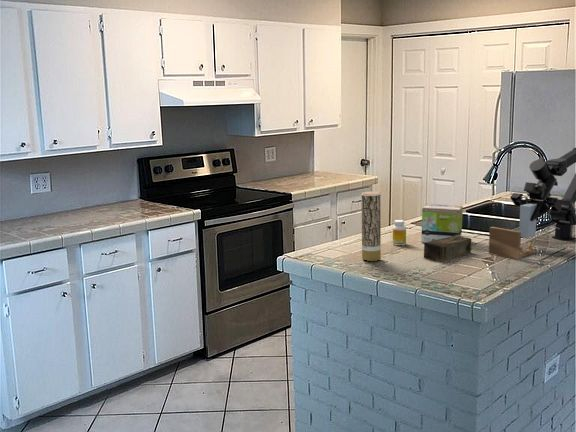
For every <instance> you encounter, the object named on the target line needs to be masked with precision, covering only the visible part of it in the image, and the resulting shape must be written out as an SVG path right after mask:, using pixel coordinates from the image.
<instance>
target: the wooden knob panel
mask: <svg viewBox="0 0 576 432" xmlns="http://www.w3.org/2000/svg"><path fill="white" fill-rule="evenodd" d="M521 240H522V237H521V232H520V231H519V230H515V229H508V228H501V227H496V226H490V227H489V239H488V254H491V255H493V256H494V255H495V256H499V257H505V258H508V259H513V260H520V259H521V258H524V257H527V256H530V255H532V254H536V253H537V249H536V248H533V244H532V243H528V248H527V249H526V248H525V249H524V246H522V245H521V243H522V241H521ZM526 255H527V256H526ZM523 256H524V257H523ZM520 257H521V258H520Z"/></svg>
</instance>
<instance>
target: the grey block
mask: <svg viewBox="0 0 576 432" xmlns="http://www.w3.org/2000/svg"><path fill="white" fill-rule="evenodd" d="M536 207H537V205H534V204H525V205H520V207H519V224H518V226H519V227H518V229H519V230H518V231H520V232H521V238H526V239H529V238H533V237H536V233H537V218H536V219H535V220H533V221H531V220H530V219H531V216H532V214H533V212H534V211H535V209H536Z"/></svg>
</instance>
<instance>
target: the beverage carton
mask: <svg viewBox="0 0 576 432" xmlns="http://www.w3.org/2000/svg"><path fill="white" fill-rule="evenodd" d="M471 252H472V238H470V237H466V236H460V235H455V236H451V237H447V238H442V239H438V240H433V241H429V242H423V259H426V260H430V261H434V262H438V263H441V262H443V261H447V260H450V259H451V260H452V259H454V258H458V257H461V256H464V255H469V254H471Z"/></svg>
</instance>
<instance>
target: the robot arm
mask: <svg viewBox="0 0 576 432" xmlns="http://www.w3.org/2000/svg"><path fill="white" fill-rule="evenodd" d="M574 164H576V147H573V148H572V149H571V150H570V151H568V152H567V153H565V154H564V155H561V156H560V157H558V158H552V159H548V160H546V159H545V157H539V158H537V159H536V160H534V161H532V162H531V163H530V164H529V169H530V172H531V173H532V175H533V176H534V178H535V179H536V180H538V181H537V183H536V182H527V181H526V182H525V183H524V186H523V192H526V196H524V194H523V193H519V192H518V193H517V192H513V193H512V194H511V196H510V197H509V198H510V200H511V202H512V203H513V205H514V206H515V207H517V208H520V205H525V204H533V205H537V207H536V209H535V211H534V212H533V214H532V216H531V219H530V220H531V221H533V220H535V219H536V220H537V219H538V218H539V217H541V216H543V215H544V214H545V215H546V214H547V213H549V215H550V219H551V223H553V224H555V227H554V235H552V236H551V238H552V239H558V240H561V241H569V240H573V239H576V236H573V230H574V229H573V226H576V207H575V204H576V172H575V173H574V176H573V177H572V179H571V181H570V183H569V185H568V187H567V189H566V191H565V193H564V195H563V197H562V198H561V199H559V198H557V197H551V195H552V194H551V191H552V190H553V188H554V187H555V186H556V187H558V183H559V182H558V181H557V180H558V179H557V178H556V177H557V176H558V177H563V175H565V174H566V173H568V172H567V171H568V168H569V167H571V166H572V165H574Z"/></svg>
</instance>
